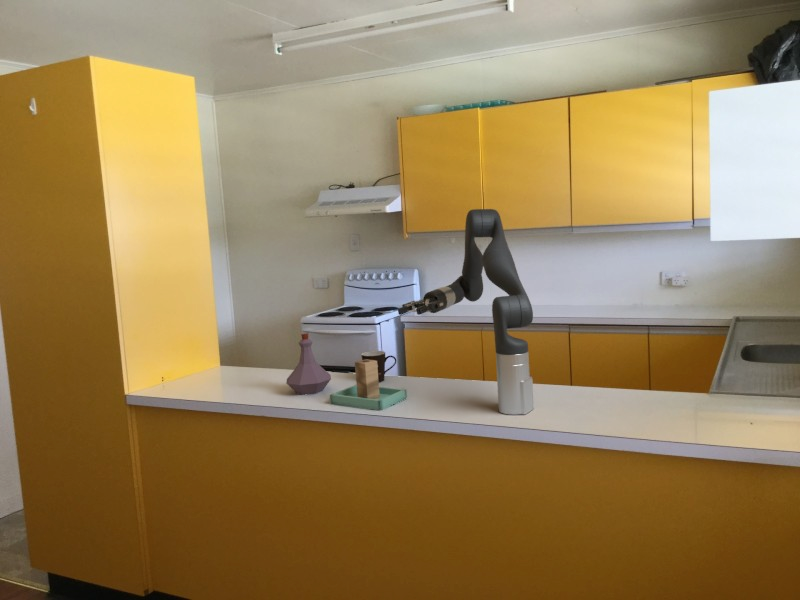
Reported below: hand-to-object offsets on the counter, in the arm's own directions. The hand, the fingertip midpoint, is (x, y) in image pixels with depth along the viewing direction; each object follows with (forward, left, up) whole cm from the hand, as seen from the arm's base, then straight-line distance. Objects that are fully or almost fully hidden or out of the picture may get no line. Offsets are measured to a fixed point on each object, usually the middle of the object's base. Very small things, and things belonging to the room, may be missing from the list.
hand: (408, 311), depth 223 cm
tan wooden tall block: (+6, +17, -25) cm, 31 cm away
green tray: (+6, +17, -26) cm, 32 cm away
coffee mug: (+19, -6, -27) cm, 33 cm away
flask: (+34, +14, -27) cm, 45 cm away
